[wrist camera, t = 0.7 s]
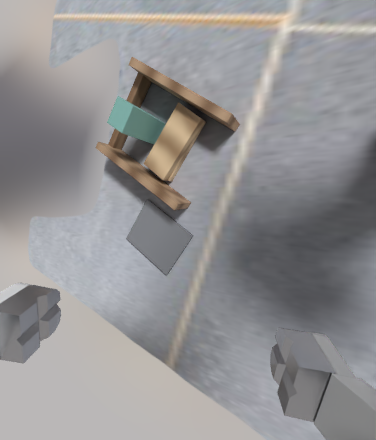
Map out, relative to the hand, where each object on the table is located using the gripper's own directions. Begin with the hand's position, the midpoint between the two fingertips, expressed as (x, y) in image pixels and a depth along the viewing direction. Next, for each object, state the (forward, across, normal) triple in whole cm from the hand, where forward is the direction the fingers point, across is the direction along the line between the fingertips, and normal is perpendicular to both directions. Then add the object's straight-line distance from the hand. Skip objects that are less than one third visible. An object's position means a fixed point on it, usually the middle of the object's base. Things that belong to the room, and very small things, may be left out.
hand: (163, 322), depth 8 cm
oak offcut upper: (+40, +7, -9) cm, 42 cm away
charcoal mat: (+41, +9, +12) cm, 44 cm away
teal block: (+44, +13, -12) cm, 48 cm away
